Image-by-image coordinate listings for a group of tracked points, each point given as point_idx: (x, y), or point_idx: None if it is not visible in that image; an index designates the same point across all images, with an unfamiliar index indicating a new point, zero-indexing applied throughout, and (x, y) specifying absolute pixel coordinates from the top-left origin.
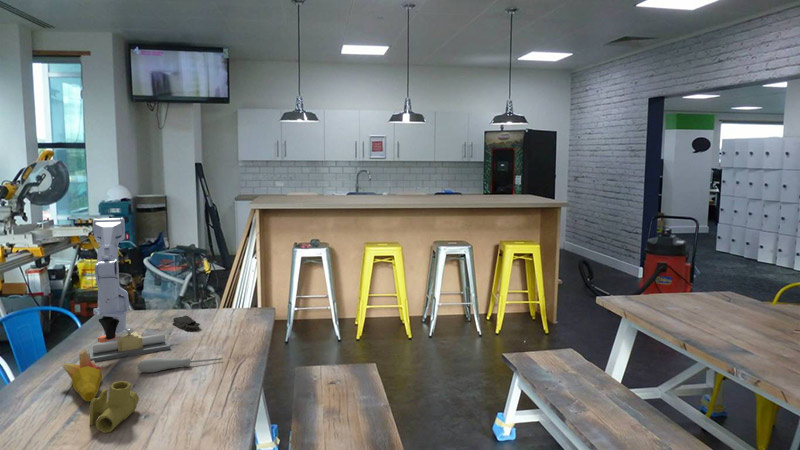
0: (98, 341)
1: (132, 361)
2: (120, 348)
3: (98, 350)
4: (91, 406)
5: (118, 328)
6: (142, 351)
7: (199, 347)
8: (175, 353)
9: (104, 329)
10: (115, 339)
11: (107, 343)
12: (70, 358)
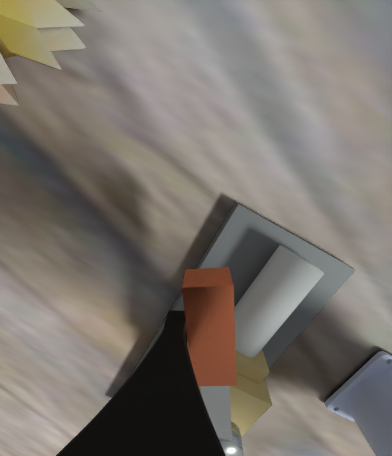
0: (223, 269)
1: (106, 285)
2: None
3: (266, 265)
4: None
5: (389, 448)
6: (147, 350)
7: (62, 435)
8: (67, 384)
9: (180, 377)
10: (359, 383)
11: (259, 317)
12: (365, 185)
